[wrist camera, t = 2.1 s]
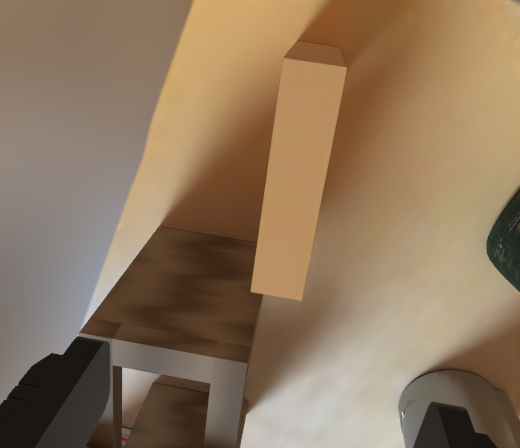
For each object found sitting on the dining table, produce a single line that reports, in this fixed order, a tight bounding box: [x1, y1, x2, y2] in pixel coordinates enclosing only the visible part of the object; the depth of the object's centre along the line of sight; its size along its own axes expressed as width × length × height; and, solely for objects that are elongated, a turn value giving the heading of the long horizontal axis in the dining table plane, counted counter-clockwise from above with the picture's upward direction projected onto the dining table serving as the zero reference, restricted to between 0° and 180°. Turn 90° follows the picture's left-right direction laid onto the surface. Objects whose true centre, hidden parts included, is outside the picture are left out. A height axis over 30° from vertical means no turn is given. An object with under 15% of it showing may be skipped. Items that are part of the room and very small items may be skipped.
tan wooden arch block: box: [251, 41, 347, 301], centre depth 31 cm, size 3×13×13 cm, turn 173°
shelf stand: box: [79, 227, 263, 448], centre depth 37 cm, size 10×20×18 cm, turn 173°
